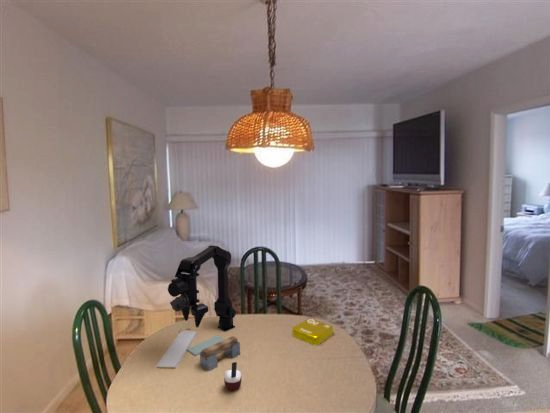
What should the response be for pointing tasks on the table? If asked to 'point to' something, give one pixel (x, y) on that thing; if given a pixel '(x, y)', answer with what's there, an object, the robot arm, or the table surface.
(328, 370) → the table surface
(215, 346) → the rail
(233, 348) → the grey block
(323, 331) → the element tile
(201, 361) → the grey notched block
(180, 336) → the baseboard
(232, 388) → the cupcake
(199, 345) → the mat
